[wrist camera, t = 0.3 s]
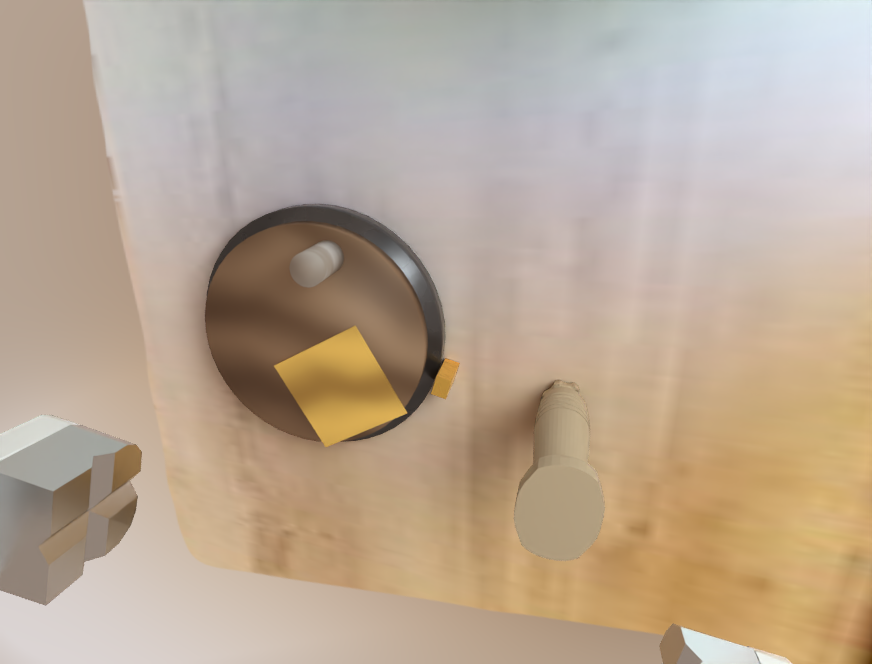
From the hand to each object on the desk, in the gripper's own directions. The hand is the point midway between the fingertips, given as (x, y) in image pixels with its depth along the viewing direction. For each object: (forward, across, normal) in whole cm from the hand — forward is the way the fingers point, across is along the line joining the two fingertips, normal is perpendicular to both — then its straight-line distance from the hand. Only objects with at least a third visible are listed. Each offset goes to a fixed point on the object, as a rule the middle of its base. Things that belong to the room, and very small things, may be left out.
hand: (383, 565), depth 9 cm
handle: (+39, -6, +10) cm, 41 cm away
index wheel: (+37, +14, +10) cm, 41 cm away
